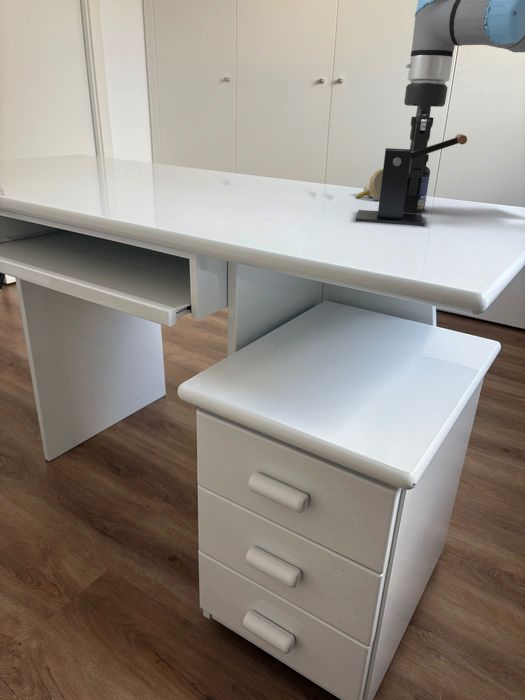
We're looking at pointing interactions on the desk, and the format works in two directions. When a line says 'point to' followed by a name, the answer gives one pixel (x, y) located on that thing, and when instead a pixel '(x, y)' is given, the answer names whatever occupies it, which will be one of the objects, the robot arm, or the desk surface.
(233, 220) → the desk surface
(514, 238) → the desk surface
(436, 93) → the robot arm
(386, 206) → the bracket
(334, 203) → the desk surface
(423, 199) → the pill bottle
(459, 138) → the lever
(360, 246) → the desk surface
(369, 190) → the tan rounded piece
